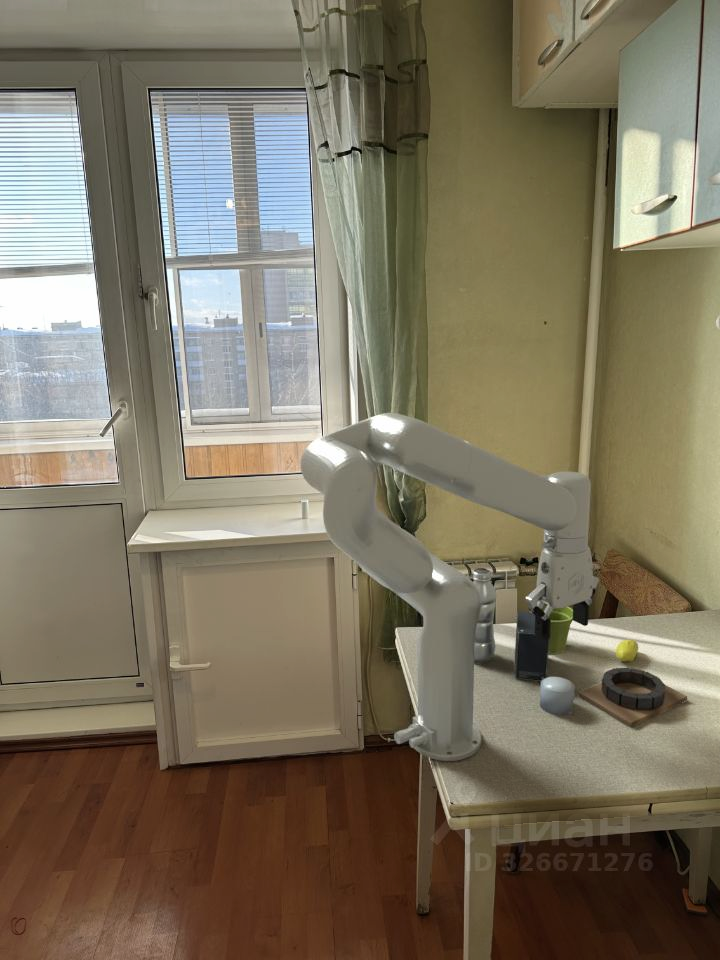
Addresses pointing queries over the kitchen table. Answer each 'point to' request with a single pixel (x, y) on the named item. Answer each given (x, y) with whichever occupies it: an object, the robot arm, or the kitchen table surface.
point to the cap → (556, 696)
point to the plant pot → (559, 628)
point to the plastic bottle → (484, 615)
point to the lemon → (627, 650)
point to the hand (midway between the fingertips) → (561, 629)
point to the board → (625, 714)
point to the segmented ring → (632, 699)
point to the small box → (529, 649)
